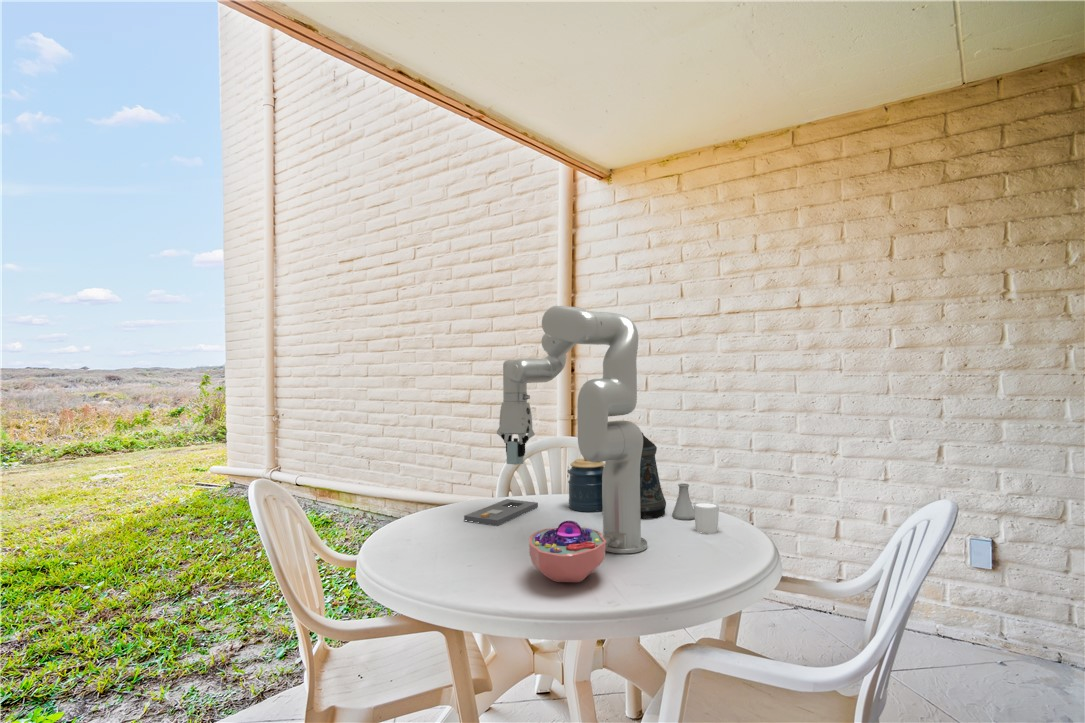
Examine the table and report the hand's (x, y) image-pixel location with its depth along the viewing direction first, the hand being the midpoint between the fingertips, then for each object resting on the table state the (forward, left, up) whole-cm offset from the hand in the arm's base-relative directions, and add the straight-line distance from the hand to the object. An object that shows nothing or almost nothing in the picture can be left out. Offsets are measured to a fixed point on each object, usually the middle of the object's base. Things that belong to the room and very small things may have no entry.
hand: (515, 455), depth 176 cm
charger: (-1, 0, -3) cm, 3 cm away
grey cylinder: (+5, -58, -18) cm, 61 cm away
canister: (+15, -18, -18) cm, 30 cm away
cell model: (-43, -39, -18) cm, 61 cm away
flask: (+16, -49, -18) cm, 55 cm away
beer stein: (+14, -35, -18) cm, 42 cm away
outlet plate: (-4, +3, -18) cm, 19 cm away
